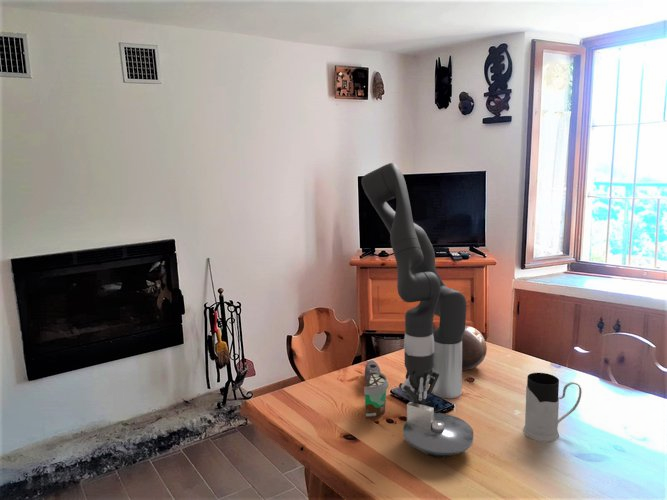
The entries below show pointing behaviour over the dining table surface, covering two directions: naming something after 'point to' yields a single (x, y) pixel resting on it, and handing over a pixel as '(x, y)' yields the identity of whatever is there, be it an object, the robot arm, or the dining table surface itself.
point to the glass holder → (544, 406)
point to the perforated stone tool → (371, 369)
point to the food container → (375, 395)
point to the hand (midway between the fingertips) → (419, 411)
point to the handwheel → (436, 431)
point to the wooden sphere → (472, 348)
